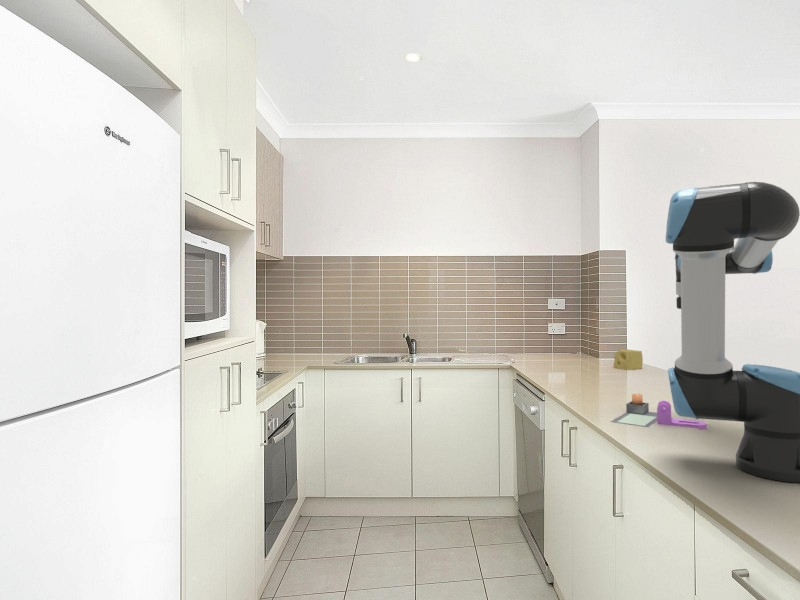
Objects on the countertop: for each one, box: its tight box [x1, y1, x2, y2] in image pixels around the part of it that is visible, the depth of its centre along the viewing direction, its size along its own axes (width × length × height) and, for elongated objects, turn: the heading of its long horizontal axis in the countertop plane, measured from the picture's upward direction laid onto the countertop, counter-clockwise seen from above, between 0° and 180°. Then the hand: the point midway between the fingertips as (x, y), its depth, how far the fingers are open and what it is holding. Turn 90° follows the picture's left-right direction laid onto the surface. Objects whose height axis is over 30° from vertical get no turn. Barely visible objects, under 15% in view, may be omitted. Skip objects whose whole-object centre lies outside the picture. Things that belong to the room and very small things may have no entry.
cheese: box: [613, 349, 644, 371], centre depth 264 cm, size 10×11×10 cm
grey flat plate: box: [610, 411, 657, 428], centre depth 157 cm, size 21×11×1 cm, turn 138°
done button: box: [631, 393, 644, 405], centre depth 164 cm, size 3×3×4 cm
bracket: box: [656, 399, 708, 430], centre depth 148 cm, size 13×6×7 cm, turn 60°
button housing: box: [625, 400, 650, 415], centre depth 164 cm, size 6×6×3 cm
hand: (692, 364), depth 149 cm, fingers open, 13 cm apart
